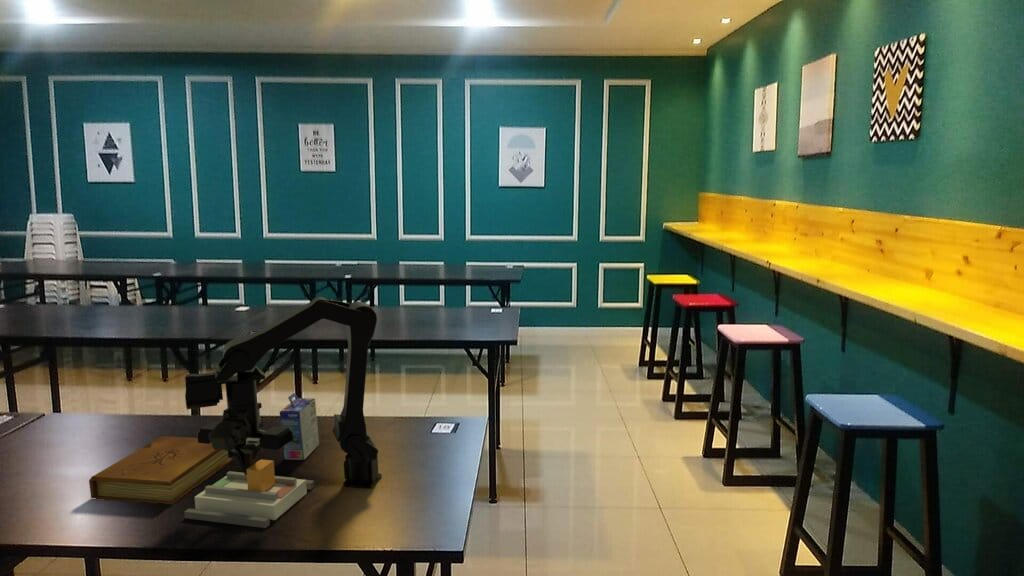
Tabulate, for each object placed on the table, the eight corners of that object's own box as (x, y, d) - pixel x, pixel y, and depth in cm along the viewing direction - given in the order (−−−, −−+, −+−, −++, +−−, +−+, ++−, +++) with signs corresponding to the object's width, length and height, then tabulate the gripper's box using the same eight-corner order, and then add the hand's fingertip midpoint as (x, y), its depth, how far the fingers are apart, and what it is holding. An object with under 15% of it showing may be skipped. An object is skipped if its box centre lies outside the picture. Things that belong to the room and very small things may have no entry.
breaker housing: (306, 493, 150) (305, 474, 149) (275, 520, 138) (273, 500, 138) (232, 485, 154) (231, 467, 153) (195, 510, 143) (194, 491, 142)
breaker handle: (275, 483, 147) (273, 460, 146) (261, 493, 142) (259, 470, 142) (262, 482, 148) (260, 459, 147) (248, 492, 143) (246, 469, 142)
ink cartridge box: (298, 444, 177) (294, 388, 175) (319, 444, 177) (316, 389, 174) (282, 460, 168) (277, 401, 165) (304, 460, 167) (300, 401, 165)
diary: (161, 458, 171) (158, 435, 170) (232, 462, 168) (230, 439, 167) (91, 501, 149) (88, 475, 148) (172, 506, 146) (170, 480, 145)
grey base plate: (314, 486, 153) (314, 480, 153) (265, 528, 135) (265, 521, 135) (241, 479, 157) (241, 473, 157) (184, 518, 140) (184, 511, 139)
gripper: (175, 411, 138) (182, 487, 140) (259, 418, 133) (265, 496, 136) (212, 394, 148) (218, 464, 151) (291, 400, 144) (296, 472, 146)
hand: (248, 474), depth 146 cm, fingers closed
